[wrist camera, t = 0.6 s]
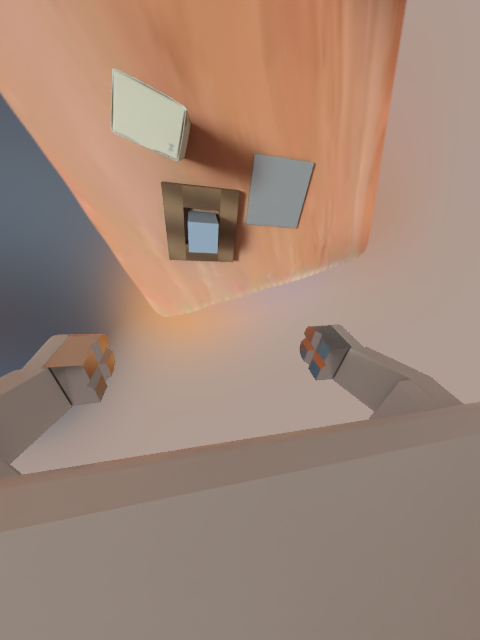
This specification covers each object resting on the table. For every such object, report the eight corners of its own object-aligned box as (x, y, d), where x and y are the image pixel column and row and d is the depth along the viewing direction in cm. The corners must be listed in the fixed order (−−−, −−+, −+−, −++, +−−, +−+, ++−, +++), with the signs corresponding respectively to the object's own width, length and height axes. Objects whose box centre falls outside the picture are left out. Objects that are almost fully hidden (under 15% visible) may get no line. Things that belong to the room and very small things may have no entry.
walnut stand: (162, 181, 31) (161, 182, 30) (238, 190, 34) (239, 191, 32) (170, 256, 39) (169, 259, 37) (231, 258, 41) (232, 261, 40)
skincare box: (191, 121, 27) (191, 108, 18) (184, 159, 30) (181, 164, 21) (140, 94, 25) (110, 62, 16) (137, 137, 27) (109, 131, 18)
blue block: (188, 210, 34) (187, 221, 29) (214, 212, 35) (218, 223, 30) (189, 237, 37) (189, 252, 32) (213, 239, 38) (217, 253, 33)
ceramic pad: (254, 153, 31) (255, 153, 30) (312, 162, 33) (314, 162, 32) (245, 223, 37) (246, 224, 37) (295, 226, 39) (296, 227, 39)
